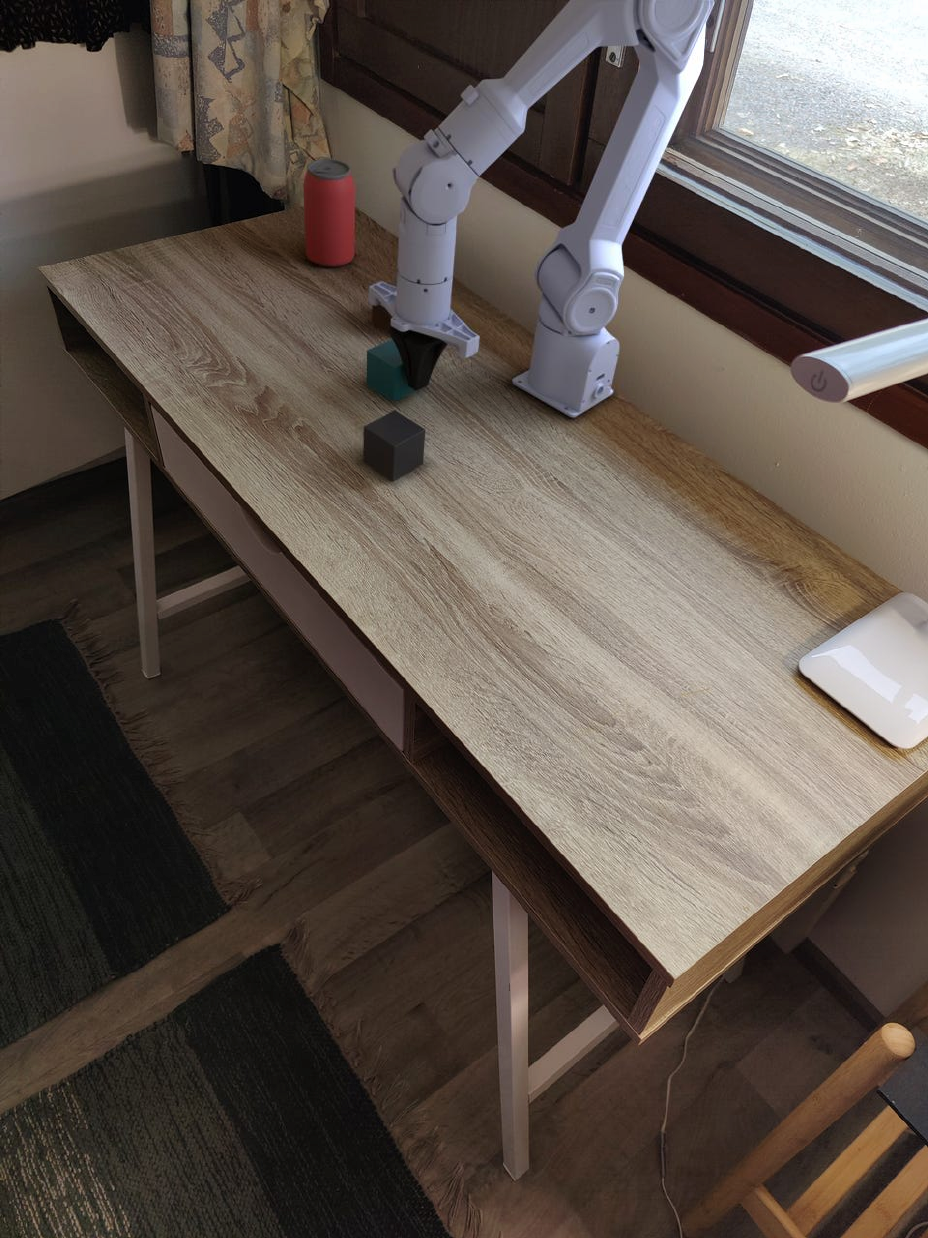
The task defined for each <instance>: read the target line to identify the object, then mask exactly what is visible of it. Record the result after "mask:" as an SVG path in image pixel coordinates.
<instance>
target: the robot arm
mask: <svg viewBox="0 0 928 1238" xmlns="http://www.w3.org/2000/svg"><path fill="white" fill-rule="evenodd" d="M714 5H715V0H568V2H567V3H566V4H565V6H563V8H562V9H561V10H560V11H559V12H558V14H557V15H556V16H555V17H554V18H553V20H551V22H550V23H549V24H548V26H546V27H545V29H544V30H543V31H542V32H541V33H540V35H539V36H538V37H537V38H536V39H535V41H534V42H532V44H531V45H530V46H529V47H528V49H527V50H526V51H525V52H524V53H523V54H522V56H521V57H520V58H519V59H517V61H516V63H514V65H513V66H512V67H511V69H510V70H509V71H508V72H507V73H506V74H505V75H504V76H503V77H501V78H491V79H489V78H488V79H481V81H480V82H479V83H478V84H477V85H476V86H475V87H474V86H473V85H472V84H469V85H468V86H467V87H466V88H465V89H464V90H463V91H462V93H461V94H460V98H462V101H461V102H460V103H459V104H457V106H456V107H455V108H454V109H453V110H452V111H451V112H450V113H449V114H448V116H447V117H446V118H445V119H444V120H443V121H442V122H441V123H440V124H439V125H438V126H437V127H436V128H435V129H434V130H433V129H429V130H428V131H427V132H426V134H425V135H423V139H422V140H420V142H417V141H415V142H413V143H411V144H409V145H408V146H407V147H406V148H404V150H403V152H401V154H400V156H399V157H398V160H397V163H398V164H397V165H396V166H395V167H393V168H392V179H393V181H394V184H395V186H396V188H397V189H398V191H399V192H400V194H402V196H401V198H400V210H399V213H400V215H399V223H398V241H397V265H396V266H397V267H396V268H397V272H396V279H397V287H394V286H391V285H389V284H387V283H388V282H384V281H383V280H381V281H378V282H376V283H374V284H371V285H369V286H368V303H369V304H371V306H372V305H374V306H377V305H379V304H380V305H381V306H383V307H385V308H386V310H387V311H388V312H389V313H390V314H391V316H392V317H393V318H391V326H392V327H391V328H390V332H388V335H389V336H390V338H391V339H393V341H394V343H395V345H396V347H397V349H398V351H399V353H400V356H401V359H402V362H403V366H404V370H405V374H406V378H407V383H408V386H409V387H411V388H412V389H414V390H416V391H415V392H418V391H420V390H422V389H424V388H425V387H428V386H429V385H430V381H431V378H432V375H433V373H434V370H435V368H436V365H437V364H438V360H439V359H440V357H441V355H442V353H443V352H444V350H445V349H446V348H447V346H448V345H449V346H451V347H453V348H454V349H456V350H457V351H458V355H459V356H460V357H462V358H464V359H467V358H469V357H472V356H474V355H475V354H477V353H478V352H479V346H480V338H481V337H480V335H478V334H477V333H475V332H474V331H473V330H472V329H470V328H469V326H468V325H467V324H466V323H465V322H464V321H463V320H462V318H460V317H459V315H457V313H456V312H455V311H454V310H453V309H452V308H451V305H452V291H453V281H454V280H453V279H454V267H455V253H456V243H457V223H458V215H459V214H462V213H463V212H464V211H465V209H466V208H467V206H468V204H469V201H470V196H471V190H472V188H473V186H474V185H475V184H476V183H477V180H478V178H479V177H481V175H482V174H484V172H485V171H487V169H488V168H490V166H491V165H493V163H495V161H496V160H498V158H499V157H501V156H502V154H503V153H504V152H506V150H507V149H509V147H510V146H511V145H513V144H514V142H515V141H516V140H517V139H518V138H519V137H520V136H521V135H522V134H523V133H524V132H525V129H526V123H527V121H526V120H527V113H528V110H529V109H530V108H531V107H532V106H533V105H534V104H535V103H536V102H538V101H539V100H540V99H541V98H542V97H543V96H544V95H545V94H546V93H548V92H549V91H550V90H551V89H552V88H553V87H554V86H555V85H557V83H558V82H560V81H561V80H562V79H563V78H564V77H565V76H566V75H568V74H569V73H570V72H571V71H572V70H573V69H574V68H576V66H577V65H579V64H580V63H581V62H582V61H583V60H584V59H585V58H587V57H588V56H589V55H590V54H591V53H592V52H593V51H594V50H596V49H597V48H599V47H633V48H634V51H635V54H636V57H637V59H638V62H639V68H638V70H637V73H636V75H635V78H634V80H633V81H632V85H631V87H630V89H629V92H628V94H627V97H626V99H625V101H624V104H623V106H622V109H621V111H620V113H619V115H618V119H617V120H616V123H615V125H614V128H613V130H612V133H611V134H610V137H609V139H608V143H607V145H606V147H605V150H604V152H603V153H602V156H601V159H600V161H599V164H598V166H597V168H596V171H595V174H594V176H593V179H592V180H591V183H590V186H589V187H588V190H587V193H586V194H585V198H584V200H583V202H582V204H581V207H580V208H579V209H580V210H579V212H578V214H577V217H576V219H575V221H574V222H573V223H571V224H569V225H566V226H564V227H563V228H561V229H559V230H558V232H557V235H556V237H555V239H554V241H553V243H552V245H551V246H550V247H549V248H547V250H545V252H544V253H543V254H542V255H541V257H540V258H539V259H538V261H537V264H536V267H535V271H534V272H535V273H534V281H535V283H536V284H535V285H536V286H537V288H538V289H539V290H540V292H541V299H540V305H539V308H538V314H537V318H536V319H537V320H536V325H535V331H534V338H533V343H532V344H533V345H532V350H531V351H532V352H531V356H530V363H529V368H528V370H526V371H524V372H523V373H521V374H519V375H517V376H516V377H513V378H512V381H511V383H512V384H513V385H514V386H516V387H517V388H519V389H521V390H523V391H525V392H526V393H527V394H530V395H531V396H533V397H535V398H537V399H539V400H540V401H542V402H544V403H545V404H547V405H549V406H551V407H552V408H554V409H555V410H558V411H559V412H561V413H563V414H564V415H566V416H568V417H569V418H577V417H579V416H580V415H581V414H583V413H584V412H585V413H586V411H588V410H589V409H591V408H593V407H594V406H596V405H597V404H599V403H601V402H602V401H605V399H607V398H608V397H610V396H613V393H614V389H613V388H612V384H613V381H614V376H615V371H616V367H617V363H618V360H619V354H620V342H619V340H618V339H617V338H615V337H614V336H613V335H612V334H611V333H610V332H609V331H608V330H607V329H606V328H605V327H606V326H608V325H609V323H610V322H611V321H612V320H613V318H614V317H615V314H616V313H617V310H618V305H619V290H620V287H621V285H622V282H623V280H624V278H625V269H624V260H623V250H622V248H623V247H622V246H623V243H624V241H625V239H626V236H627V234H628V232H629V230H630V227H631V226H632V223H633V221H634V219H635V216H636V214H637V212H638V210H639V208H640V205H641V203H642V201H643V200H644V197H645V195H646V192H647V191H648V188H649V186H650V183H652V182H651V181H652V180H653V177H654V175H655V173H656V170H657V168H658V167H659V164H660V162H661V160H662V158H663V155H664V154H665V151H666V148H667V147H668V144H669V143H670V140H671V138H672V136H673V134H674V131H675V129H676V128H677V125H678V123H679V121H680V119H681V116H682V114H683V111H684V110H685V107H686V105H687V103H688V101H689V98H690V96H691V94H692V92H693V89H694V87H695V85H696V83H697V81H698V79H699V76H700V74H701V71H702V68H703V65H704V55H705V41H706V39H705V38H706V26H707V21H708V19H709V17H710V14H711V12H712V11H713V8H714Z"/></svg>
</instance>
